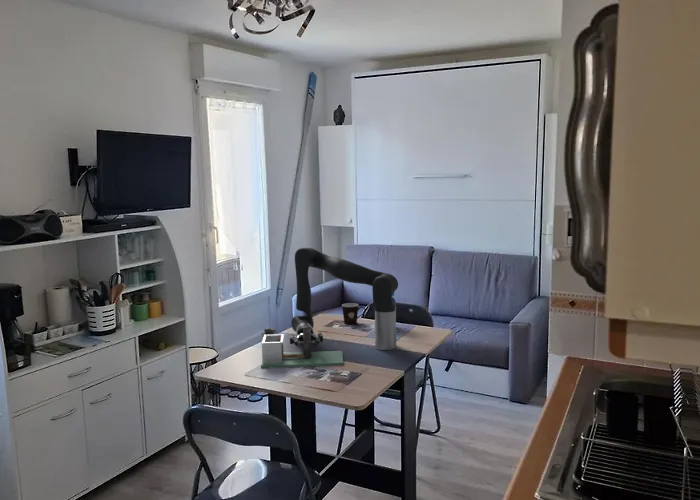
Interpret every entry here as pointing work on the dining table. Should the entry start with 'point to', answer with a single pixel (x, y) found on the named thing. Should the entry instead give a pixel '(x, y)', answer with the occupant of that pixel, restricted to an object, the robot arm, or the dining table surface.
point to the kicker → (306, 345)
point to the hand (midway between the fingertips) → (307, 343)
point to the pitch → (310, 360)
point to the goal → (272, 349)
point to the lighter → (269, 332)
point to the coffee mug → (351, 313)
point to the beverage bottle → (395, 306)
